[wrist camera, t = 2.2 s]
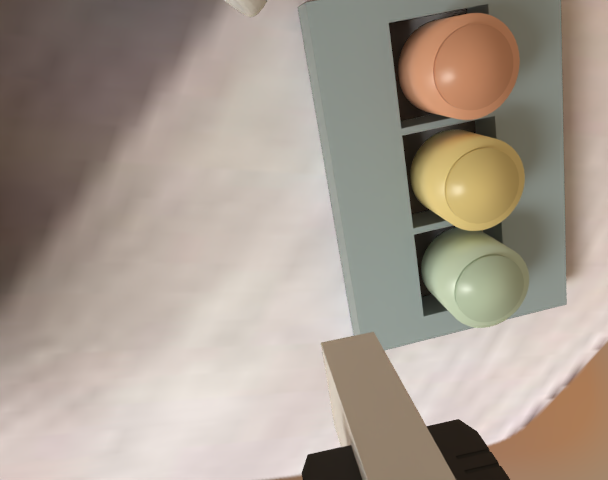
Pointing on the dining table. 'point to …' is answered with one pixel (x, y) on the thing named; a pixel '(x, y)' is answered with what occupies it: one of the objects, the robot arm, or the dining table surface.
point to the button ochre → (467, 178)
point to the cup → (247, 6)
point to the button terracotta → (459, 66)
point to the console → (392, 169)
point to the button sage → (475, 277)
